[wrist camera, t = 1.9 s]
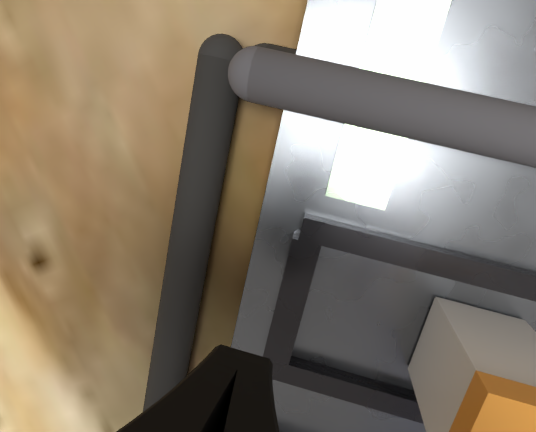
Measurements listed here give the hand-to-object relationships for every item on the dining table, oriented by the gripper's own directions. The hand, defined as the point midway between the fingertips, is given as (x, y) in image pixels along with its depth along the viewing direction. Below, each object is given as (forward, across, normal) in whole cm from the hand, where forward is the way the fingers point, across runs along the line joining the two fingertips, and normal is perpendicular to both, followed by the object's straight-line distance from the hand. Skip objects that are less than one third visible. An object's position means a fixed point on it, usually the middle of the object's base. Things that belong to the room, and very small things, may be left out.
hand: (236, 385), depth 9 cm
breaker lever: (+5, -7, 0) cm, 9 cm away
